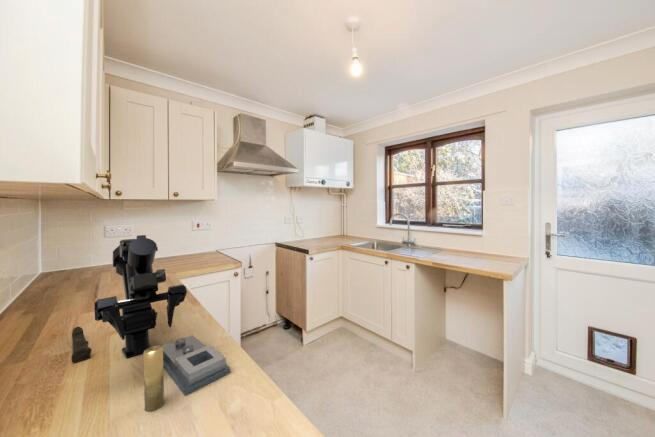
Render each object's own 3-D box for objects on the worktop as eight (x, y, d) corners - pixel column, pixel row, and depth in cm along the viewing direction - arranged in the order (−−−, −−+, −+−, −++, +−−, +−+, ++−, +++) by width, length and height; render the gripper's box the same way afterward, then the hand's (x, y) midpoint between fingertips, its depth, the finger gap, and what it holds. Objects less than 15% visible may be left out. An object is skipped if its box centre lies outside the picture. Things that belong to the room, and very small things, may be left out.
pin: (142, 405, 55) (141, 350, 55) (161, 396, 58) (160, 343, 58) (147, 414, 53) (146, 356, 53) (166, 404, 56) (165, 349, 55)
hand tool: (91, 359, 73) (91, 343, 72) (71, 365, 70) (71, 349, 70) (88, 336, 86) (88, 322, 86) (71, 340, 83) (71, 326, 83)
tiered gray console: (156, 358, 73) (155, 343, 73) (196, 343, 81) (195, 329, 81) (184, 395, 58) (184, 377, 58) (229, 372, 67) (229, 356, 67)
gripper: (93, 265, 58) (94, 330, 50) (184, 255, 70) (197, 306, 63) (94, 291, 64) (95, 352, 56) (178, 277, 76) (188, 326, 69)
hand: (148, 332), depth 61 cm, fingers open, 9 cm apart
